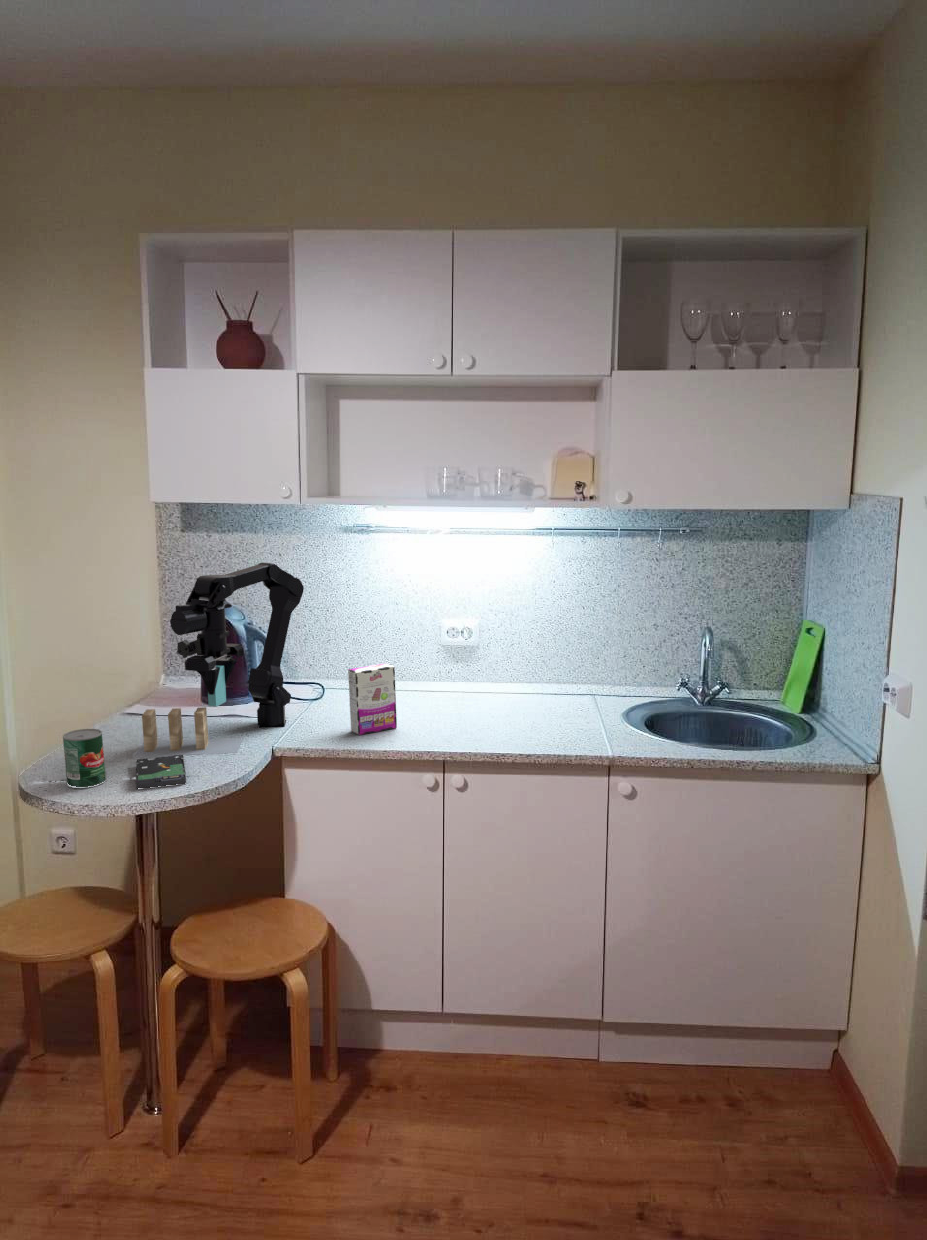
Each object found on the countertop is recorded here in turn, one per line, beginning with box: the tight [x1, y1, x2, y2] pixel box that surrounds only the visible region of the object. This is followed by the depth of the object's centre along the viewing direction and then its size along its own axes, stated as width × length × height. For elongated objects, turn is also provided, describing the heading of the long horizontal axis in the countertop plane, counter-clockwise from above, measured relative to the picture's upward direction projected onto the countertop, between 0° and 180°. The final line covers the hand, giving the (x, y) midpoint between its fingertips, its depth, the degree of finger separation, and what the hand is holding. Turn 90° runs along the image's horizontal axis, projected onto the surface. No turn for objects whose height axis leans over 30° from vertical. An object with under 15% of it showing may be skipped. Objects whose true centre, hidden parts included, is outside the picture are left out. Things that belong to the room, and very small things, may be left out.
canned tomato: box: [62, 728, 107, 787], centre depth 201 cm, size 8×8×11 cm
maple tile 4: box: [141, 708, 159, 752], centre depth 223 cm, size 2×5×9 cm, turn 6°
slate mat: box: [132, 737, 244, 758], centre depth 224 cm, size 24×12×1 cm, turn 96°
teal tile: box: [207, 665, 227, 708], centre depth 226 cm, size 2×5×9 cm, turn 166°
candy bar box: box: [347, 663, 398, 736], centre depth 237 cm, size 11×5×16 cm, turn 123°
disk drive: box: [135, 755, 187, 790], centre depth 206 cm, size 10×3×15 cm
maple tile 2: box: [193, 706, 209, 750], centre depth 224 cm, size 2×5×9 cm, turn 6°
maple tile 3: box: [167, 707, 184, 751], centre depth 223 cm, size 2×5×9 cm, turn 6°
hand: (216, 691), depth 226 cm, fingers closed on teal tile, 5 cm apart
